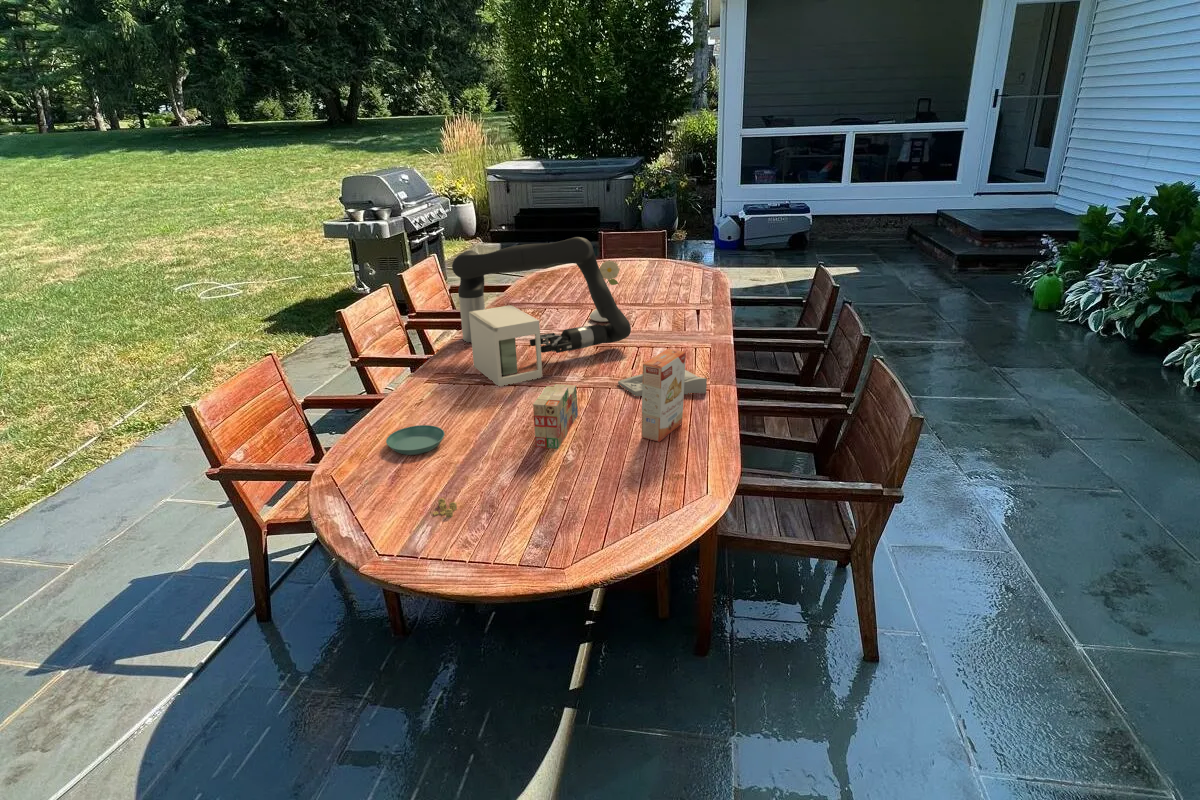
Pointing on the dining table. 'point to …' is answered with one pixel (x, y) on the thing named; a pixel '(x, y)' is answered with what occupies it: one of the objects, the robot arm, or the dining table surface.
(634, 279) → the dining table surface
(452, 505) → the dice set
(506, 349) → the sage block
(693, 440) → the dining table surface
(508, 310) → the cubby
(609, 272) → the flower in vase
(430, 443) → the saucer
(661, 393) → the cracker box
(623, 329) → the robot arm
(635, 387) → the ramp
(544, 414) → the stack of blocks
